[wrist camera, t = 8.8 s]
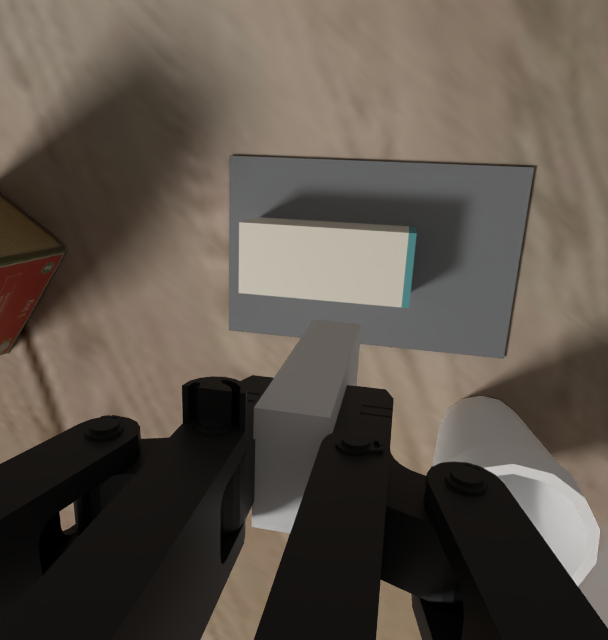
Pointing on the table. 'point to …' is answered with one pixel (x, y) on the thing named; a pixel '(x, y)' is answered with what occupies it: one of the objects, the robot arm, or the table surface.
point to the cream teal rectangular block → (327, 260)
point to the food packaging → (23, 268)
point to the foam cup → (523, 476)
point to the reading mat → (430, 250)
